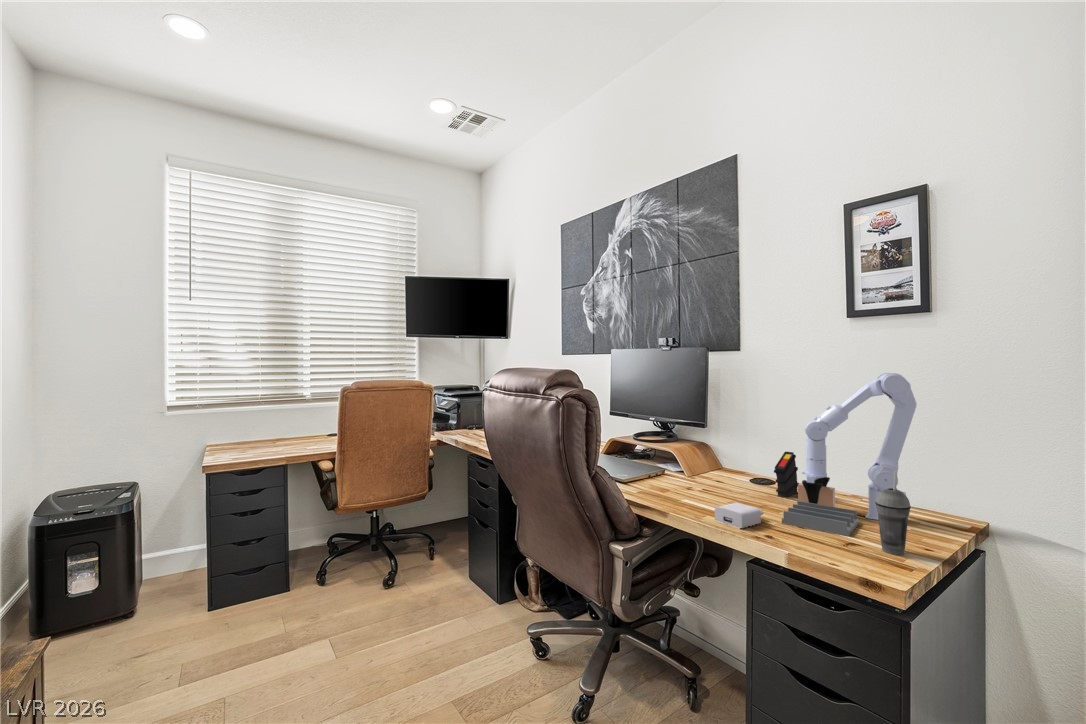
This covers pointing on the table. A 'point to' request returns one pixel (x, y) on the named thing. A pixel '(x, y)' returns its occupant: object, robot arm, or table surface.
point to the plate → (824, 495)
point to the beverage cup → (893, 519)
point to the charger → (738, 515)
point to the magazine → (786, 475)
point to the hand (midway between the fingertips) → (816, 501)
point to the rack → (821, 518)
